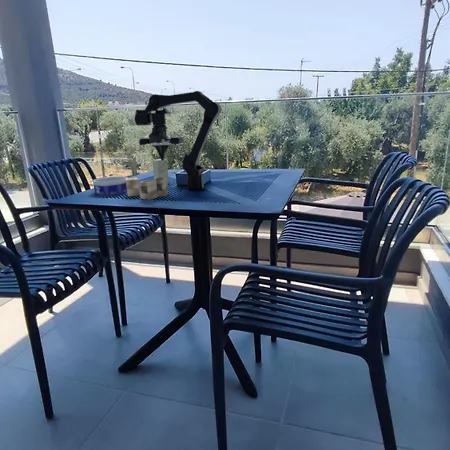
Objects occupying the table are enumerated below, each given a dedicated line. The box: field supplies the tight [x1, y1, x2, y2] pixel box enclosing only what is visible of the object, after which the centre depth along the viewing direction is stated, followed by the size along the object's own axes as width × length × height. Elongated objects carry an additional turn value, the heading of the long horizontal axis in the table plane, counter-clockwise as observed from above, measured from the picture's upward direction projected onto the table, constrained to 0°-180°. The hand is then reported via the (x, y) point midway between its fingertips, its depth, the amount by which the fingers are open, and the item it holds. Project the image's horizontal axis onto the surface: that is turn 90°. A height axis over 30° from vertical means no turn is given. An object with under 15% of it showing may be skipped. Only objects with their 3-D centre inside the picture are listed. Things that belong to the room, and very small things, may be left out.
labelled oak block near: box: [138, 179, 159, 200], centre depth 148 cm, size 5×5×7 cm
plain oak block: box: [126, 177, 140, 197], centre depth 155 cm, size 5×5×7 cm
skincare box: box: [151, 158, 170, 185], centre depth 176 cm, size 6×4×12 cm
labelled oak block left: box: [152, 178, 169, 197], centre depth 152 cm, size 5×5×7 cm
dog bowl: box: [92, 175, 128, 196], centre depth 165 cm, size 15×15×6 cm
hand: (162, 160), depth 163 cm, fingers closed
